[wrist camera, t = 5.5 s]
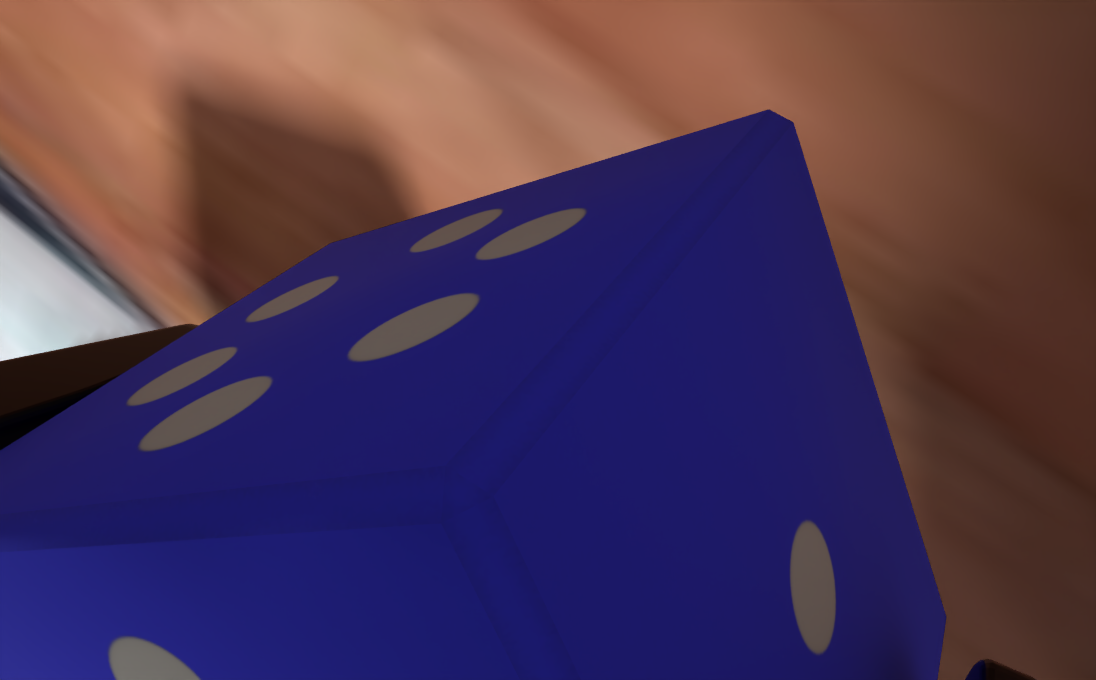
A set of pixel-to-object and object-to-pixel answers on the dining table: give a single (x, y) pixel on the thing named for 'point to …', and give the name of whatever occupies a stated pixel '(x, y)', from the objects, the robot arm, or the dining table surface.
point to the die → (496, 456)
